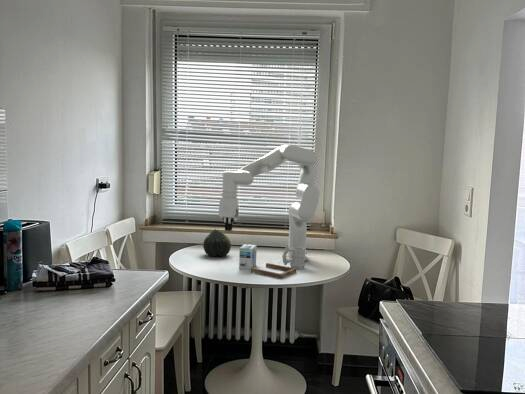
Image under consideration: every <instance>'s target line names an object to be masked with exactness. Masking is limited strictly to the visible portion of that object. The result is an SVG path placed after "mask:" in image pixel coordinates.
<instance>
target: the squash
mask: <svg viewBox="0 0 525 394" xmlns="http://www.w3.org/2000/svg"><path fill="white" fill-rule="evenodd" d="M202 246H203V250H204V252H205V254H207V256H209V257H216V256H219V257H221V258H224V257H226V256H227V255H228V254H229V253H230V251H231V247H232V243H231V241H230V238H229V237H228V236H227V235H226V234H224V233H223V232H221V231H220V230H219V229H215V228H214V230H212V231H211V232H210V233H209V234H208V235H207V236H206V237H205V239H204V240H203V244H202Z"/></svg>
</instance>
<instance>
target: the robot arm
mask: <svg viewBox="0 0 525 394" xmlns="http://www.w3.org/2000/svg"><path fill="white" fill-rule="evenodd" d="M317 161H318V154H317V153H316V151H315V150H312V149H308V148H304V147H299V146H297V145H293V144H282V145H280V146H279V147H277V148H275V149H273V150H272V151H270V152H269V153H267V154H266V155H264V156H262V157H260V158H258V159H256V160H254V161H252V162H250V163H248V164H247V165H245V166H243V167H241V168H240V169H238V170H237V171H235V170H225V171H223V173H222V192H220V195H221V197H220V199H219V203H218V216H219V218H220V219H221V220H223V223H224V231H227V232H230V231H231V232H232V231H233V223H234V222H235V221H238V220H239V212H240V211H239V209H240V206H239V199H238V197H237V196H238V186H244V187H247V186H250V185H252V184H253V183H254V178H255V177H256V176H259V175H262V174H267V173H269V172H272V171H273V170H275V169H276V168H278V167H280V166H281V165H283V164H284V163H286V162H291V163H295V164H296V165H298V167H299V172H300V173H299V178H298V181H297V185H296V189H295V196H296V198H297V199H299V200H300V201H295V202H293V203H291V204H290V206H289V207H288V219H289V220H288V221H289V222H288V226H289V228H288V244H287V245H288V246H289V249H292V248H304V250H305V257H304V262H307V261H309V257H308V256H307V254H309V251H308V250H306V249H307V246H306V245H307V230H308V228H307V223H309V222H311V221H312V220H313V218H314V216H315V214H316V212H317V206H318V204H319V199H320V189H319V188H318V186H317V185H315V180H316V173H317V172H316V166H315V164H317ZM291 253H292V252H291V251H289V252H288V253H287V254H286V259H287V260H289V259H291Z"/></svg>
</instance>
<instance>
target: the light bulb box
mask: <svg viewBox="0 0 525 394" xmlns="http://www.w3.org/2000/svg"><path fill="white" fill-rule="evenodd" d="M257 247H258V246H257V244H248V243H244V244H243V245H241V246H240V247H239V259H238V261H239V262H238V269H239V270H248V271H251V268H255V267H257Z"/></svg>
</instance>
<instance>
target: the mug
mask: <svg viewBox="0 0 525 394" xmlns="http://www.w3.org/2000/svg"><path fill="white" fill-rule="evenodd" d="M288 245H289V244H288V243H286V244H285V248H284V252H283V253H282V257H281V258H282V263H283V266H287V265H288V264H289V265H290V268H295V269H297V270H304V269H305V267H306V263H305V261H304V257H305V256H306V254H305V250H304V248H292V249H289V246H288ZM289 251H291V252H292V253H291V259H289V260H287V259H286V256H287V255H288V252H289Z"/></svg>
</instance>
